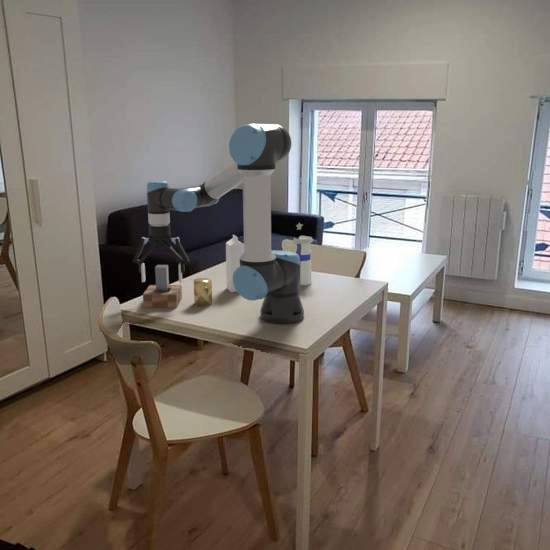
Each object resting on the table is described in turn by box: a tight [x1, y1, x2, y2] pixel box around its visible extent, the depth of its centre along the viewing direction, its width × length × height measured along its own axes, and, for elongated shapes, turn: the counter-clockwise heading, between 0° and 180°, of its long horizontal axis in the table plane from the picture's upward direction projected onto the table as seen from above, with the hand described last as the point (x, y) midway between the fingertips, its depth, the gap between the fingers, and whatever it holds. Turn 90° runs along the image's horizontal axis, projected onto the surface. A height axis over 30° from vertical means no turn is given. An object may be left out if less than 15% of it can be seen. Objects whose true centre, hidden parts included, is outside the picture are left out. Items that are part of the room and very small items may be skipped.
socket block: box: [142, 284, 183, 309], centre depth 210 cm, size 12×12×5 cm
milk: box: [225, 234, 244, 293], centre depth 224 cm, size 6×6×22 cm
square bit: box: [154, 264, 170, 292], centre depth 208 cm, size 4×4×14 cm
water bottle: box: [293, 221, 314, 286], centre depth 233 cm, size 8×9×25 cm
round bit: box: [193, 277, 213, 308], centre depth 208 cm, size 7×7×9 cm
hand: (162, 281), depth 208 cm, fingers open, 13 cm apart
